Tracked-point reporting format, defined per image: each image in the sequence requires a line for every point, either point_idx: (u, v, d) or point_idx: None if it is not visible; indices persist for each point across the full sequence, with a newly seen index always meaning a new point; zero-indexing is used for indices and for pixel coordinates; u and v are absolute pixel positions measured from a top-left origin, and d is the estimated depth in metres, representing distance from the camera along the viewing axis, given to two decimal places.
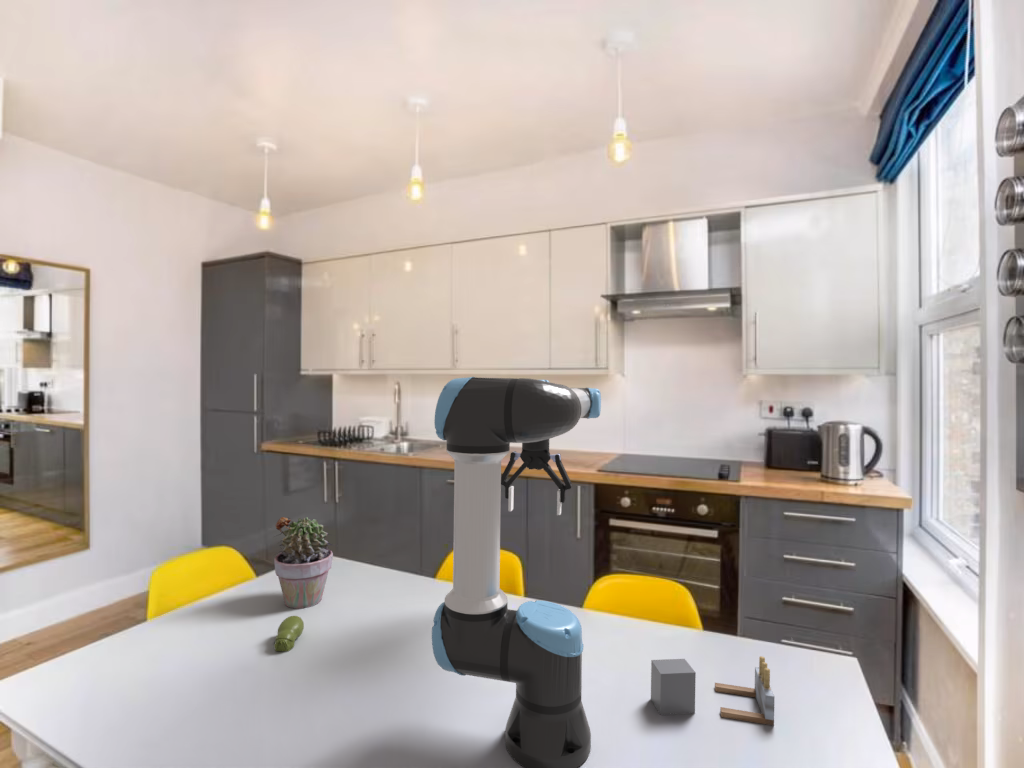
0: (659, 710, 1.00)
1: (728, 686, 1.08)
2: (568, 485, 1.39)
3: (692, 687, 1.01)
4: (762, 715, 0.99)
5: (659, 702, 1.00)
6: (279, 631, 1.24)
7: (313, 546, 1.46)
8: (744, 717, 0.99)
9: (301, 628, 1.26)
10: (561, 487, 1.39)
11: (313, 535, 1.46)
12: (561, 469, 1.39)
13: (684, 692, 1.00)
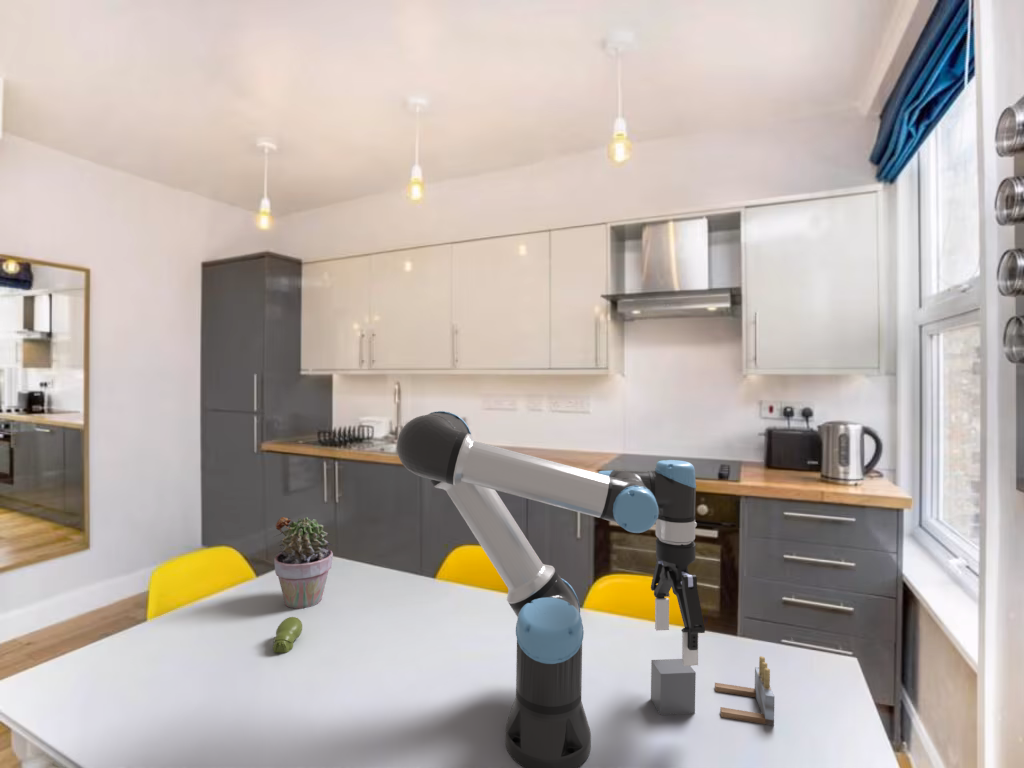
0: (659, 710, 1.00)
1: (728, 686, 1.08)
2: (690, 627, 0.93)
3: (692, 687, 1.01)
4: (762, 715, 0.99)
5: (659, 702, 1.00)
6: (278, 632, 1.23)
7: (313, 546, 1.46)
8: (744, 717, 0.99)
9: (300, 629, 1.26)
10: (685, 626, 0.95)
11: (313, 535, 1.46)
12: (685, 599, 0.95)
13: (684, 692, 1.00)
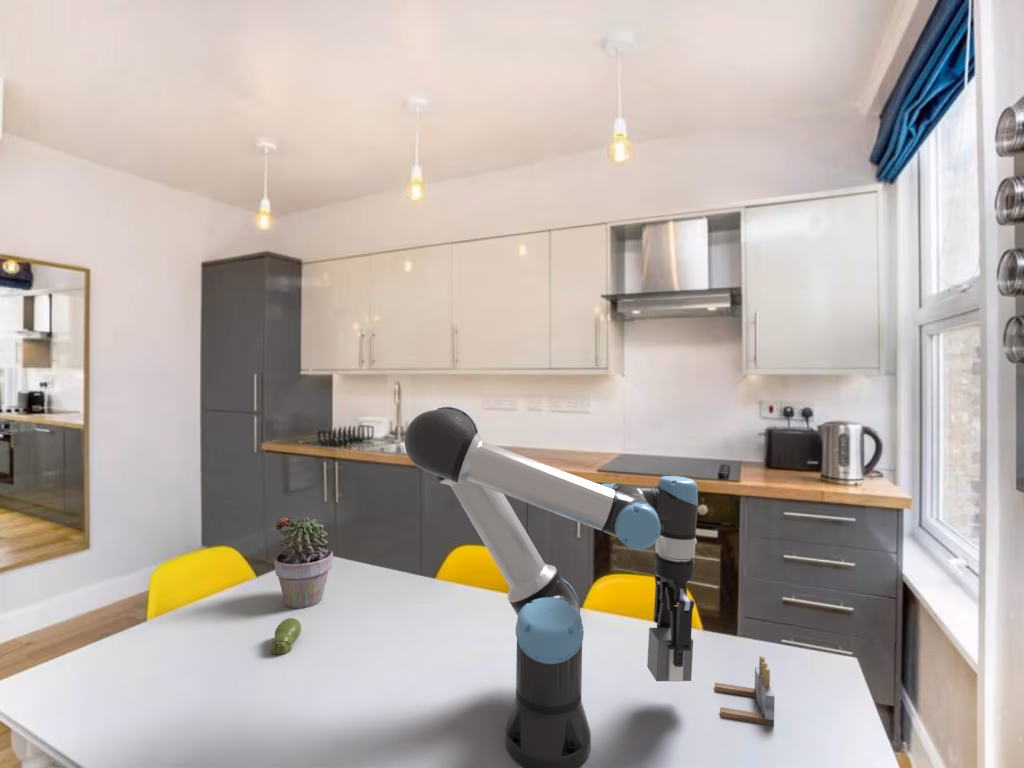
0: (655, 676, 1.00)
1: (728, 686, 1.08)
2: (677, 645, 0.97)
3: (690, 654, 1.01)
4: (762, 715, 0.99)
5: (656, 669, 1.00)
6: (276, 634, 1.22)
7: (313, 546, 1.46)
8: (744, 717, 0.99)
9: (298, 630, 1.25)
10: (672, 643, 0.99)
11: (313, 535, 1.46)
12: (678, 621, 0.97)
13: None
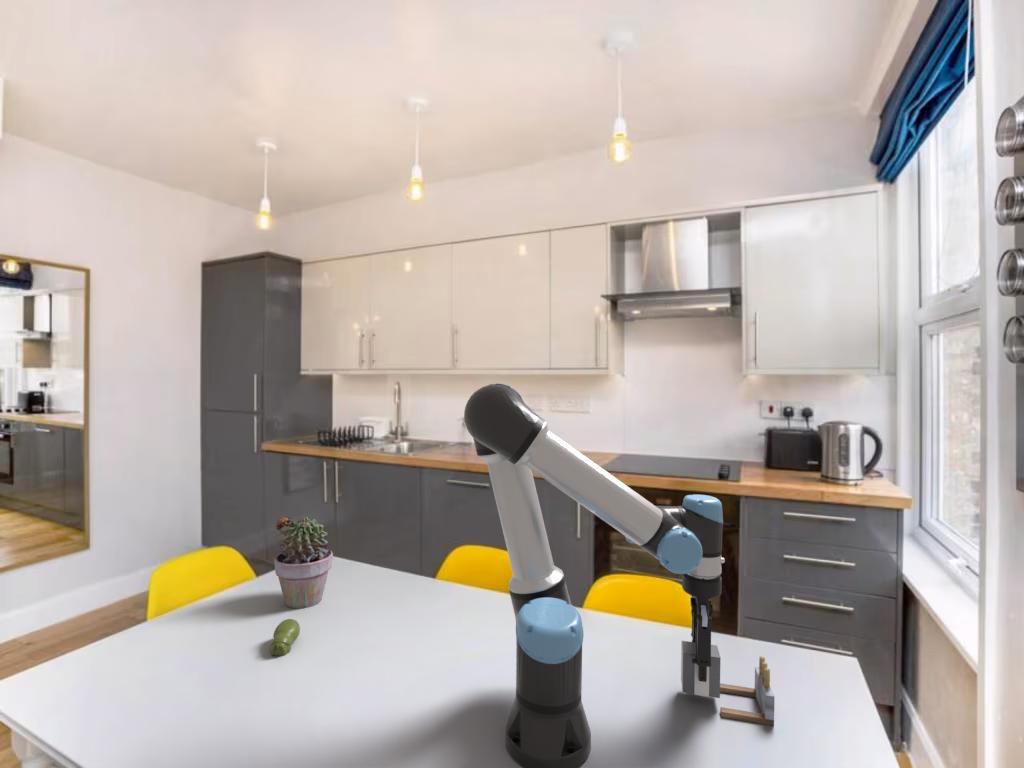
0: (682, 688, 1.04)
1: (728, 686, 1.08)
2: (697, 659, 1.00)
3: (717, 671, 1.02)
4: (762, 715, 0.99)
5: (682, 680, 1.04)
6: (275, 635, 1.22)
7: (313, 546, 1.46)
8: (744, 717, 0.99)
9: (297, 631, 1.25)
10: None
11: (313, 535, 1.46)
12: (697, 636, 1.00)
13: None
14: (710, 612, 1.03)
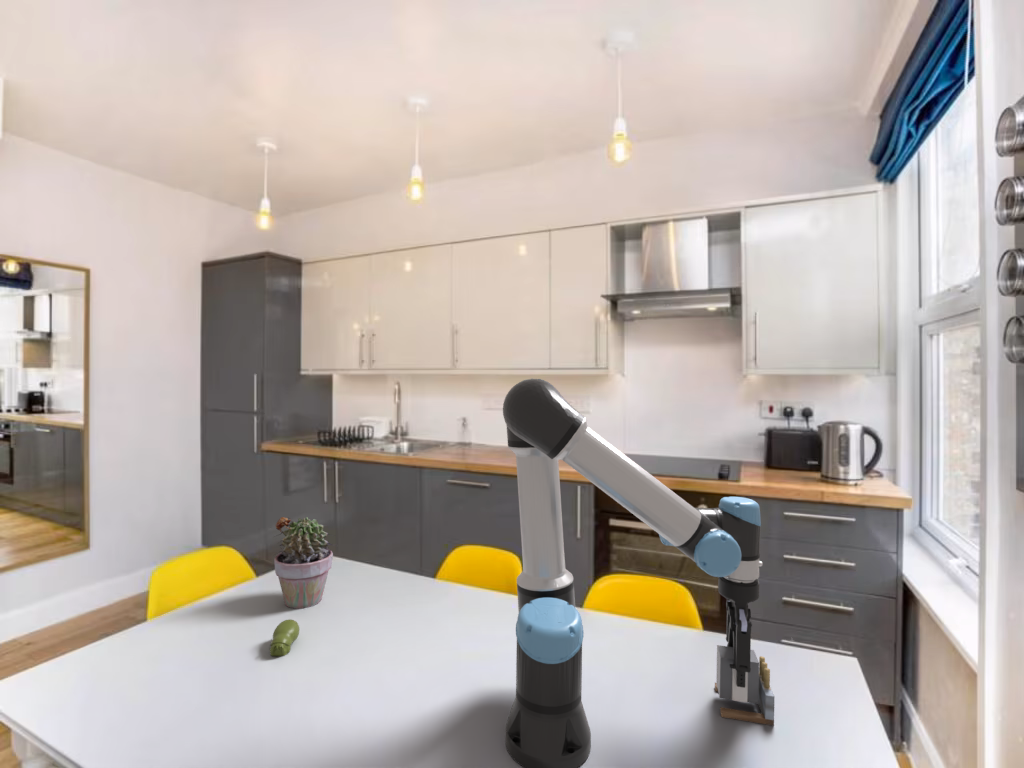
0: (719, 693, 1.02)
1: None
2: (735, 665, 0.98)
3: (756, 677, 1.00)
4: (762, 715, 0.99)
5: (719, 686, 1.02)
6: (275, 635, 1.21)
7: (313, 546, 1.46)
8: (744, 717, 0.99)
9: (297, 632, 1.24)
10: (734, 663, 1.00)
11: (313, 535, 1.46)
12: (736, 641, 0.98)
13: None
14: (748, 616, 1.01)
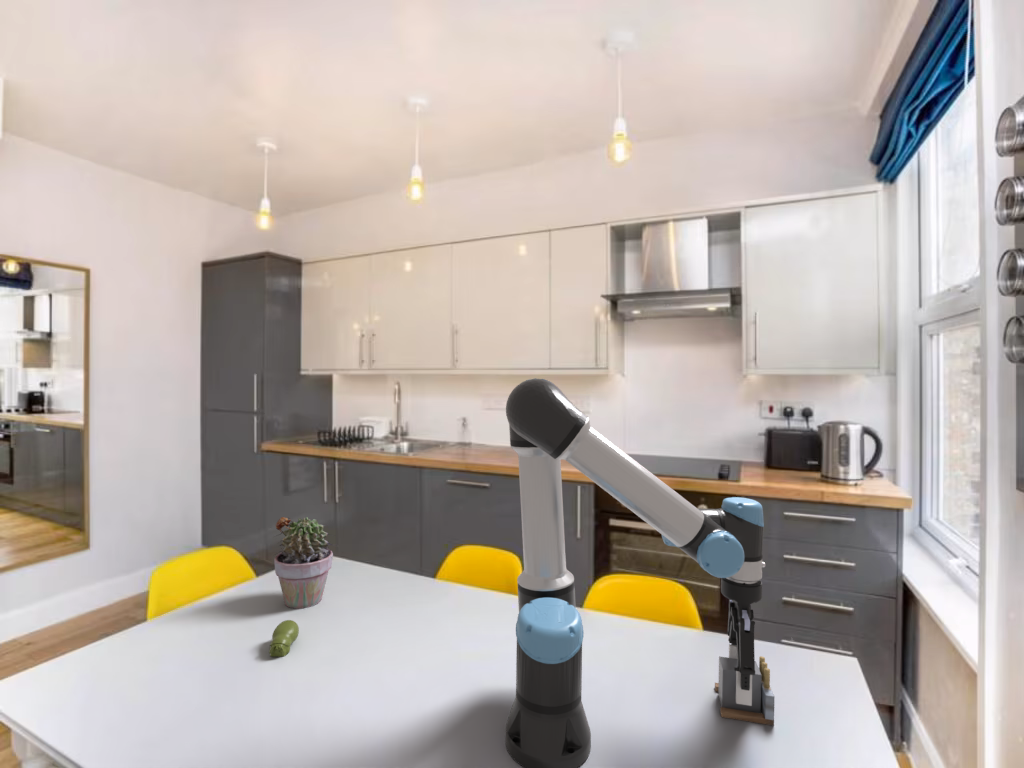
0: (721, 705, 1.02)
1: None
2: (740, 667, 0.97)
3: (758, 689, 1.00)
4: (762, 715, 0.99)
5: (721, 697, 1.02)
6: (274, 636, 1.21)
7: (313, 546, 1.46)
8: (744, 717, 0.99)
9: (296, 632, 1.24)
10: (738, 665, 0.98)
11: (313, 535, 1.46)
12: (740, 641, 0.97)
13: None
14: (751, 617, 1.01)
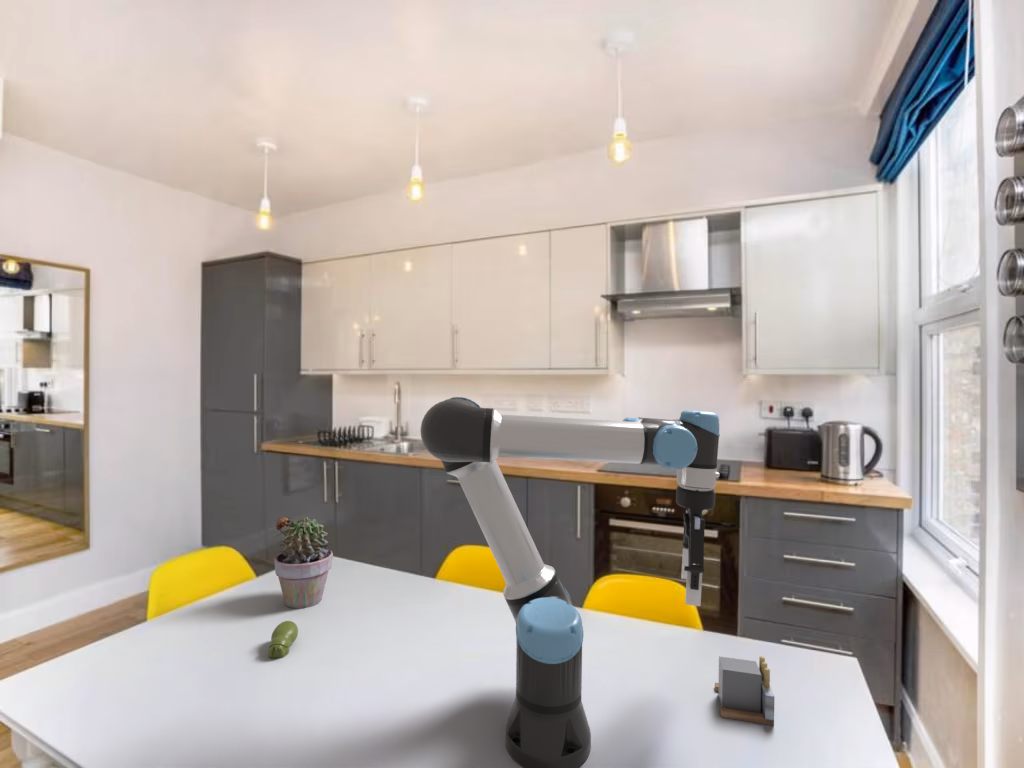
0: (721, 705, 1.02)
1: None
2: (689, 565, 0.96)
3: (758, 689, 1.00)
4: (762, 715, 0.99)
5: (721, 697, 1.02)
6: (273, 637, 1.21)
7: (313, 546, 1.46)
8: (744, 717, 0.99)
9: (296, 633, 1.24)
10: (688, 565, 0.98)
11: (313, 535, 1.46)
12: (690, 539, 0.98)
13: (748, 692, 1.01)
14: None
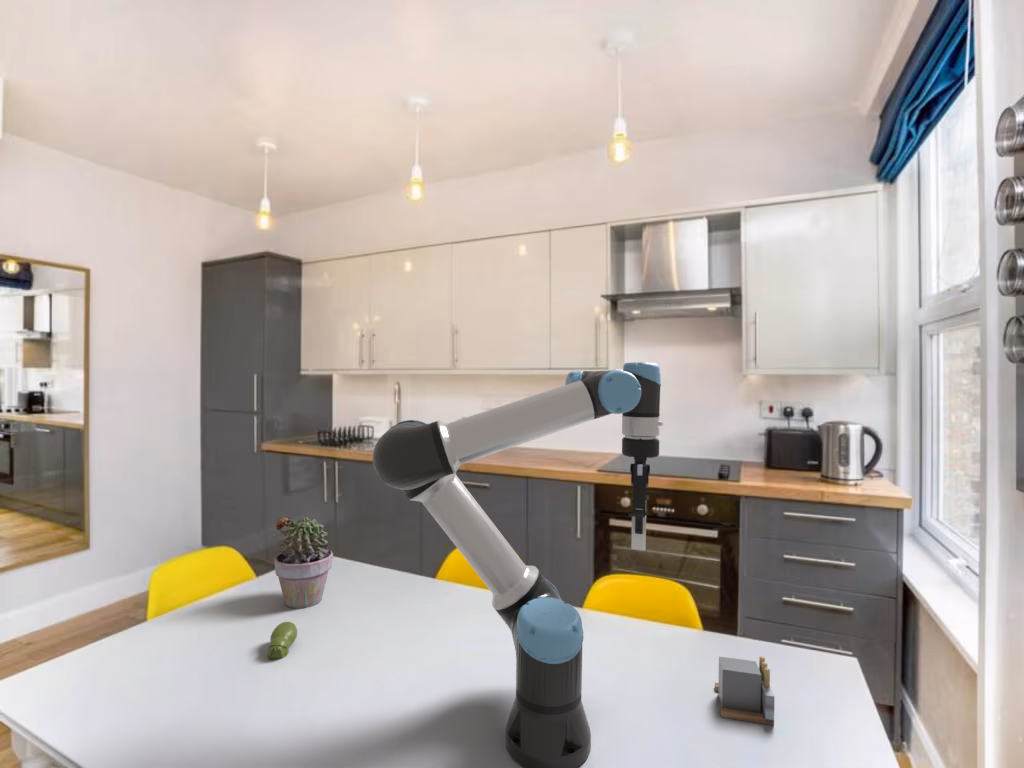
0: (721, 705, 1.02)
1: None
2: None
3: (758, 688, 1.00)
4: (762, 715, 0.99)
5: (721, 697, 1.02)
6: (272, 638, 1.20)
7: (313, 546, 1.46)
8: (744, 717, 0.99)
9: (295, 634, 1.23)
10: None
11: (313, 535, 1.46)
12: (633, 485, 1.00)
13: (748, 692, 1.01)
14: (647, 471, 1.05)
